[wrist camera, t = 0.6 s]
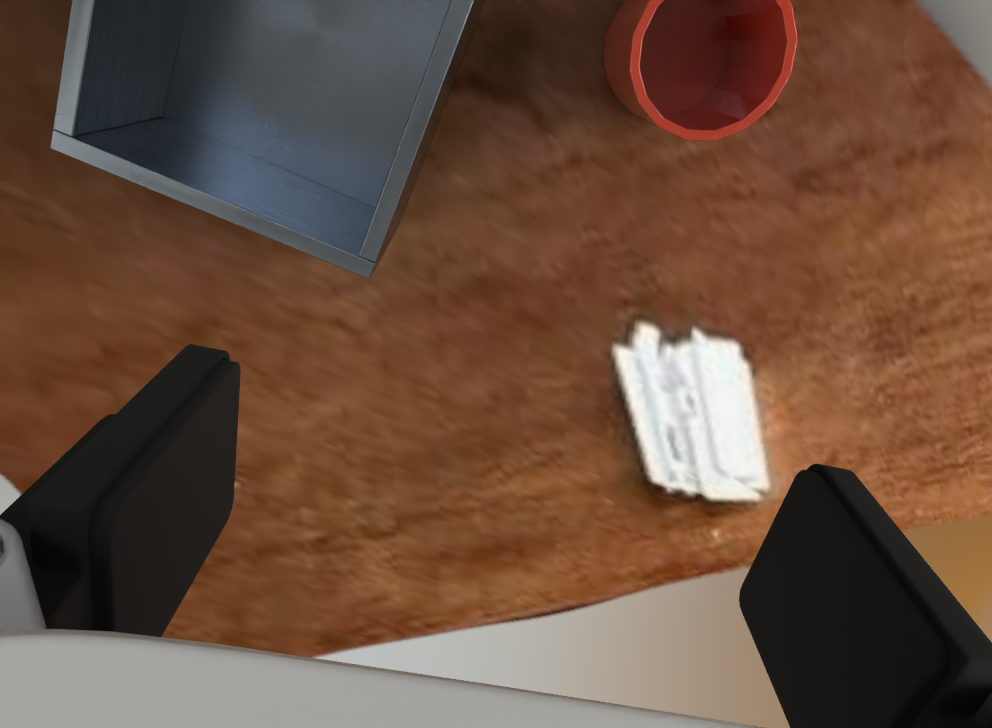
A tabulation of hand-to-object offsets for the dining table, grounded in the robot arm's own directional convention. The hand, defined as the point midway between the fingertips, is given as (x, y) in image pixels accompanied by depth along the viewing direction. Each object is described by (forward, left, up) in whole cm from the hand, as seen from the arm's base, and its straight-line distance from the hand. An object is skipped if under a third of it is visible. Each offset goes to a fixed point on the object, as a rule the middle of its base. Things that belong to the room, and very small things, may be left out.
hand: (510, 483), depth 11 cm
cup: (-9, +5, -28) cm, 30 cm away
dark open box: (-3, -11, -28) cm, 30 cm away
